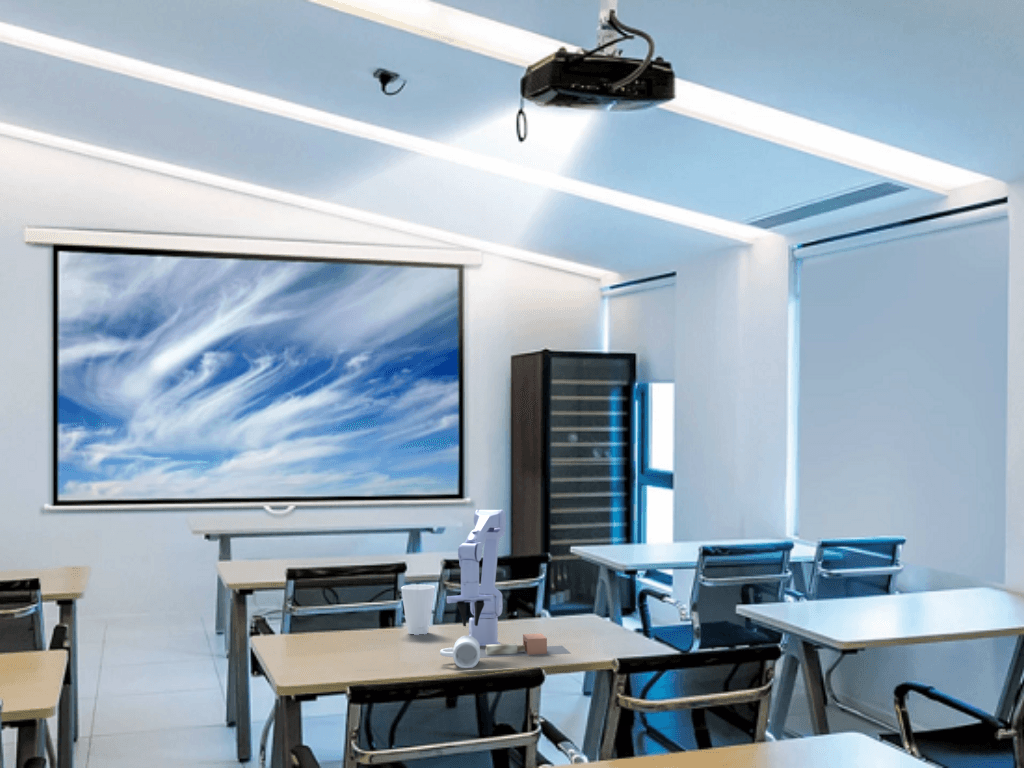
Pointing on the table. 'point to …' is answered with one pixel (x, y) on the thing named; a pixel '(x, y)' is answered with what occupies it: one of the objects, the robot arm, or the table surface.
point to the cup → (418, 607)
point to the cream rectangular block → (504, 648)
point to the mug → (464, 652)
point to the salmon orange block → (535, 643)
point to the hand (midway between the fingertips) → (470, 625)
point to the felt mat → (524, 653)
